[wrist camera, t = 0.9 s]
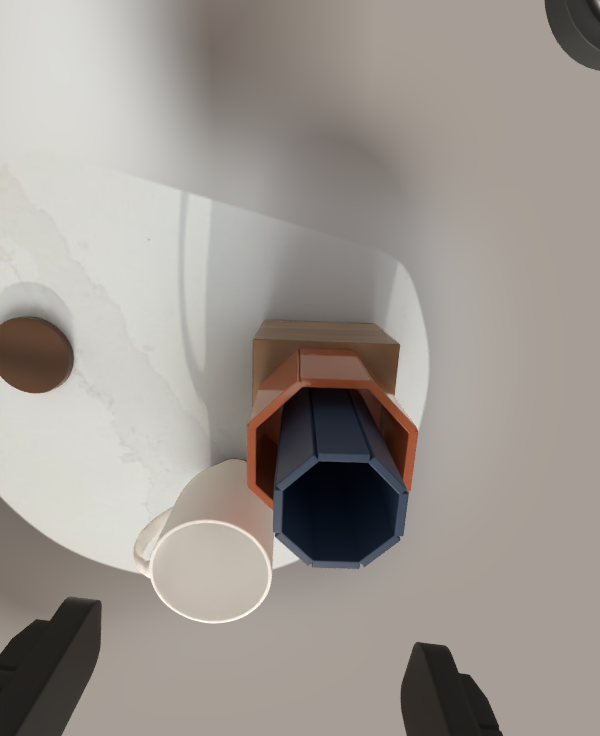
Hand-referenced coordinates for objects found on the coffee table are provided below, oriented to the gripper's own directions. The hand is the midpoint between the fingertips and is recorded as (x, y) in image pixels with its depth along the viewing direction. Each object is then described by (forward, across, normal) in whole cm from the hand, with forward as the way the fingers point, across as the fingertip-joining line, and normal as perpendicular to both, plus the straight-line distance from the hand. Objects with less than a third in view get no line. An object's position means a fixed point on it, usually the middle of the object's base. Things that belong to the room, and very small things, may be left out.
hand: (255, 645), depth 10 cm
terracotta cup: (+18, -3, 0) cm, 18 cm away
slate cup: (+17, -3, 0) cm, 18 cm away
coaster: (+27, +23, +3) cm, 36 cm away
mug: (+27, +5, +14) cm, 31 cm away
